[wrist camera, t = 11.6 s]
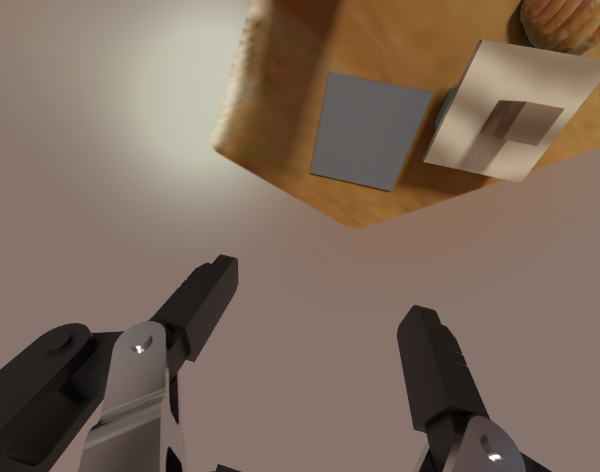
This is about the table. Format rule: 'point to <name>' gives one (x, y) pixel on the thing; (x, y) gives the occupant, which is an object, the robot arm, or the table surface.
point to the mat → (366, 130)
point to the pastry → (562, 24)
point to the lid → (510, 108)
